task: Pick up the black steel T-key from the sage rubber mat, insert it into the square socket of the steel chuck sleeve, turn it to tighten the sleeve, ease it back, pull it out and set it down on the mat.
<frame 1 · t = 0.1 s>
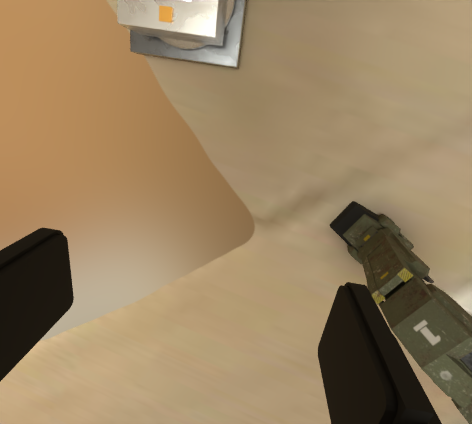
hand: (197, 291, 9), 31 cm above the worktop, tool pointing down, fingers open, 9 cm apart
mechanical leg: (372, 236, 41), on the worktop
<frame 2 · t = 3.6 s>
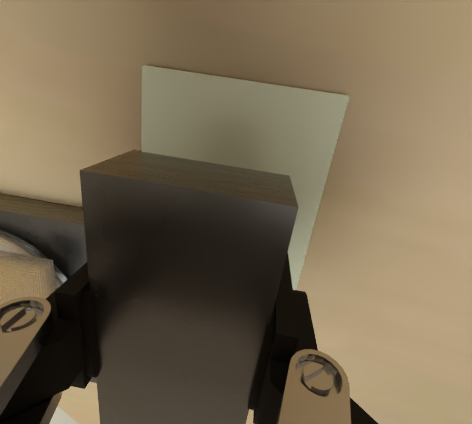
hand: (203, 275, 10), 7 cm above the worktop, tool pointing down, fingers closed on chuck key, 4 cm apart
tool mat: (229, 194, 16), on the worktop
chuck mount: (29, 280, 20), on the worktop
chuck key: (225, 214, 16), point 1 cm above the worktop, touching gripper, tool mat
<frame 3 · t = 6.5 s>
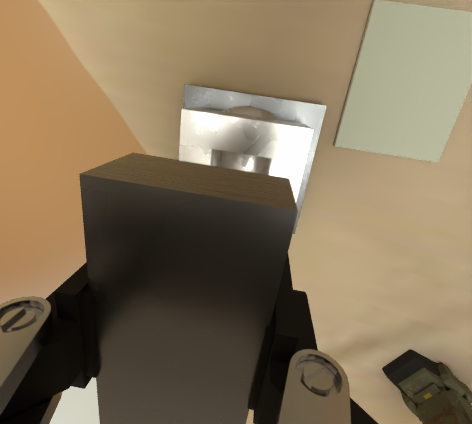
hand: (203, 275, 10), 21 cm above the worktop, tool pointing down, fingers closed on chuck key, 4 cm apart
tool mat: (406, 88, 25), on the worktop
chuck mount: (245, 161, 29), on the worktop
mechanical leg: (427, 380, 38), on the worktop
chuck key: (225, 215, 16), point 15 cm above the worktop, touching gripper
chuck sleeve: (240, 173, 24), point 5 cm above the worktop, hinge at 0.0°
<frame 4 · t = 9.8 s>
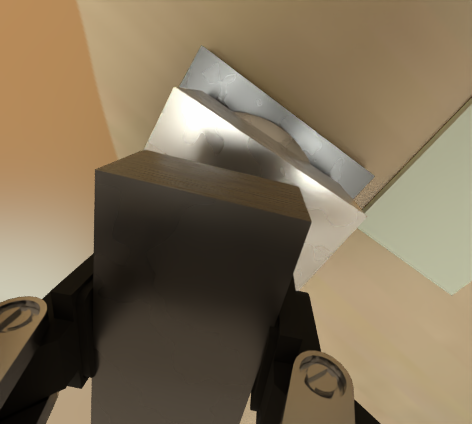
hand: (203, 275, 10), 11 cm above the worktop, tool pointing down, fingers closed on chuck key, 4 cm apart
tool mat: (467, 198, 19), on the worktop
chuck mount: (235, 188, 21), on the worktop
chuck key: (225, 215, 16), point 5 cm above the worktop, touching chuck sleeve, gripper
chuck sleeve: (225, 216, 16), point 5 cm above the worktop, hinge at 2.0°, touching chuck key
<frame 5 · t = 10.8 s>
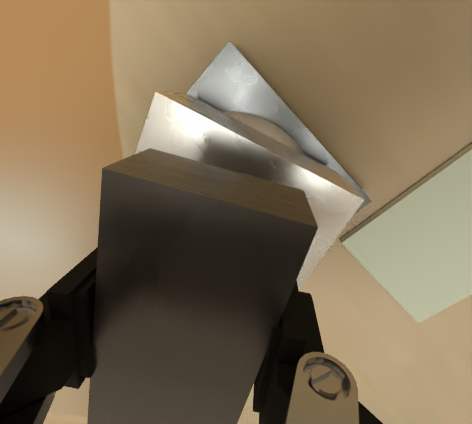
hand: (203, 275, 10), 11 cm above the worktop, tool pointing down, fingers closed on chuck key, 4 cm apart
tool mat: (449, 235, 20), on the worktop
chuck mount: (234, 188, 21), on the worktop
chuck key: (225, 215, 16), point 5 cm above the worktop, touching gripper
chuck sleeve: (223, 216, 16), point 5 cm above the worktop, hinge at 18.8°
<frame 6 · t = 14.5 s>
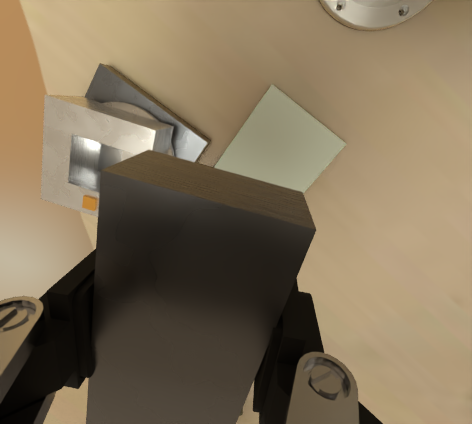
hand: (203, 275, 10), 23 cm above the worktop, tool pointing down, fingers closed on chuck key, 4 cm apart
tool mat: (273, 160, 31), on the worktop
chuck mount: (134, 152, 33), on the worktop
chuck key: (224, 215, 16), point 17 cm above the worktop, touching gripper
chuck sleeve: (110, 161, 27), point 5 cm above the worktop, hinge at 18.8°
when the fingers open (8 cm above the worktop, at t = 18.2 s): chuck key stays where it is, resting on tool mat.
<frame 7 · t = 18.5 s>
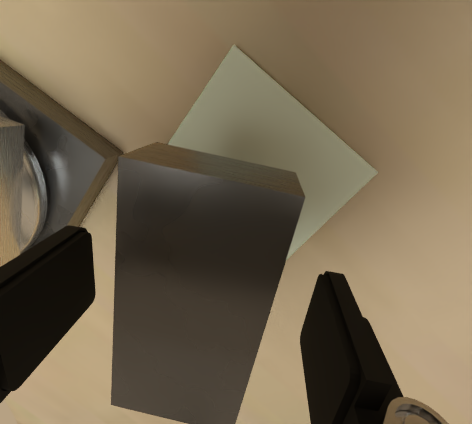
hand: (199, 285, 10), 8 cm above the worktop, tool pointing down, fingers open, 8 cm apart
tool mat: (239, 193, 17), on the worktop
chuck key: (228, 208, 17), point 1 cm above the worktop, touching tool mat
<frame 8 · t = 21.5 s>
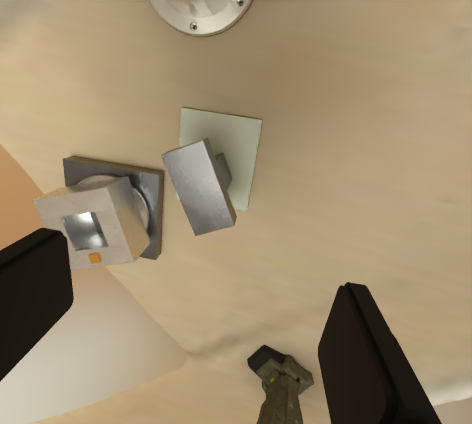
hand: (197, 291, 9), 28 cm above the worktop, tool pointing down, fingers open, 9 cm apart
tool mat: (216, 161, 37), on the worktop
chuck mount: (119, 207, 41), on the worktop
mechanical leg: (283, 368, 49), on the worktop
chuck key: (215, 169, 36), point 1 cm above the worktop, touching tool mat
chuck sleeve: (98, 222, 36), point 5 cm above the worktop, hinge at 18.8°
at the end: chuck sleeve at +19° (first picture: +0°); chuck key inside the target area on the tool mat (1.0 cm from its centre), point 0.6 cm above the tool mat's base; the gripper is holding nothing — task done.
